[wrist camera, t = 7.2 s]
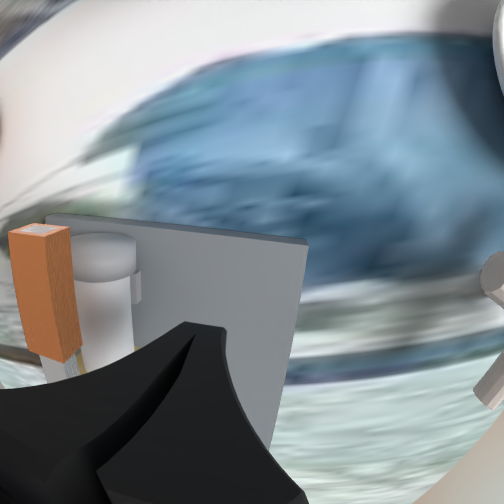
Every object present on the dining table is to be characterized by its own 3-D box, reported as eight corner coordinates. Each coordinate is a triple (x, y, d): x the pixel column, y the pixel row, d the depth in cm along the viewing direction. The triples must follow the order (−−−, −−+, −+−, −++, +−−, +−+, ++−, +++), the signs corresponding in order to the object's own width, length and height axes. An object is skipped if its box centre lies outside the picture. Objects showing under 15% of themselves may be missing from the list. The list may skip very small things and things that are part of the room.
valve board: (262, 469, 20) (255, 536, 14) (94, 431, 21) (61, 483, 15) (306, 239, 15) (323, 289, 9) (57, 212, 16) (-21, 238, 10)
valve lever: (116, 453, 12) (103, 477, 11) (76, 438, 12) (62, 460, 11) (76, 227, 9) (45, 239, 8) (28, 222, 9) (-4, 233, 8)
